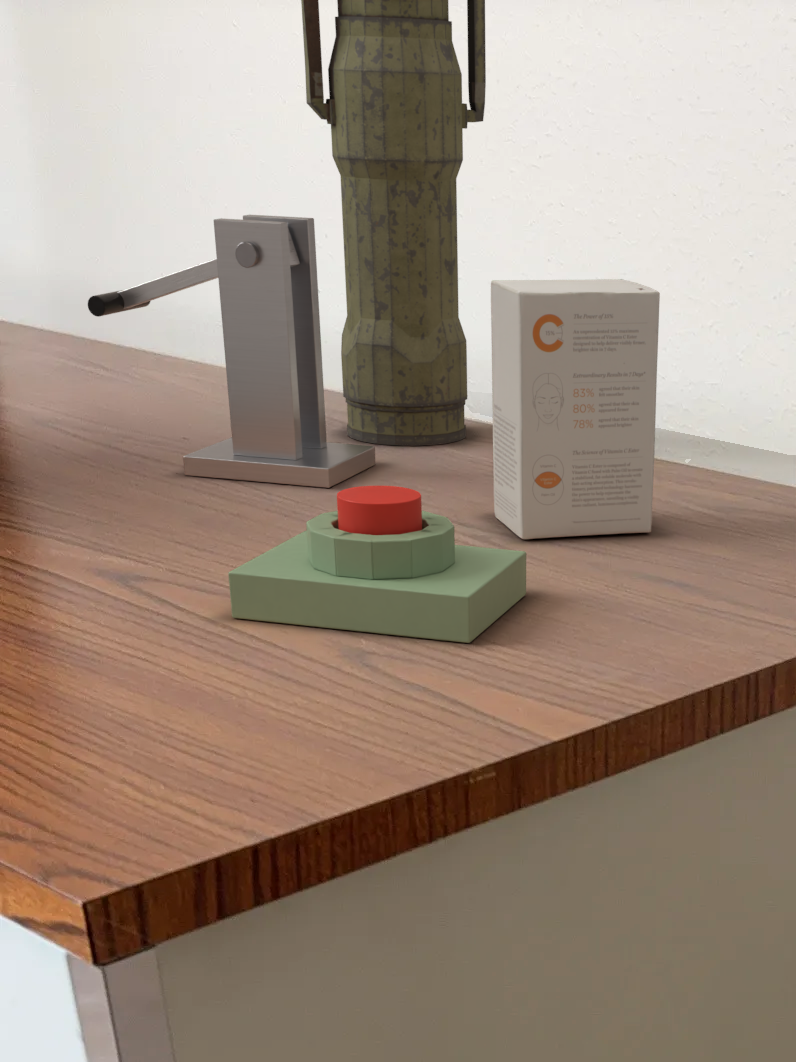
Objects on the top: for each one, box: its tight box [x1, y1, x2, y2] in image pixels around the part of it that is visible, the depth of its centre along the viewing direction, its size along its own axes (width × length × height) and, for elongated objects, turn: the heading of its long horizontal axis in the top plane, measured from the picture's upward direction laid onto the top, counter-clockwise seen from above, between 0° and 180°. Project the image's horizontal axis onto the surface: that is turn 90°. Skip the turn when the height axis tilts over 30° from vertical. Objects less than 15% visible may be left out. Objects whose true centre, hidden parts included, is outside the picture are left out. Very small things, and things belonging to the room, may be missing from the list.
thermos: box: [300, 0, 487, 447], centre depth 111 cm, size 9×12×35 cm
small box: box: [490, 278, 661, 540], centre depth 94 cm, size 8×6×13 cm
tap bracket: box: [182, 214, 377, 489], centre depth 105 cm, size 10×8×15 cm
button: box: [336, 485, 423, 535], centre depth 79 cm, size 4×4×2 cm
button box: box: [227, 510, 527, 644], centre depth 80 cm, size 12×9×4 cm
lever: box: [87, 229, 300, 318], centre depth 103 cm, size 13×6×2 cm, turn 76°
